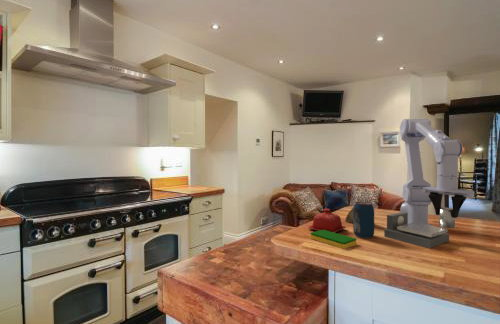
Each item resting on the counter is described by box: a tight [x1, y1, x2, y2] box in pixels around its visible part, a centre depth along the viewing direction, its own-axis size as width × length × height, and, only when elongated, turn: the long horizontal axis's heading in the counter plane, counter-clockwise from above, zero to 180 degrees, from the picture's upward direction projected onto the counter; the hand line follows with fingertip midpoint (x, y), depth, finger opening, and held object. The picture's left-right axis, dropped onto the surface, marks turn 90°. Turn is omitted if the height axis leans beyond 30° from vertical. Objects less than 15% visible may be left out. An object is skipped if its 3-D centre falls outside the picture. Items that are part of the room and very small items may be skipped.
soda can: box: [352, 201, 375, 239], centre depth 100 cm, size 7×7×12 cm
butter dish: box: [307, 208, 347, 233], centre depth 109 cm, size 12×12×8 cm
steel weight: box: [438, 206, 456, 229], centre depth 94 cm, size 4×4×6 cm
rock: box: [345, 200, 375, 225], centre depth 120 cm, size 11×9×10 cm
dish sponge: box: [310, 230, 357, 250], centre depth 95 cm, size 7×14×2 cm, turn 36°
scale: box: [383, 212, 450, 249], centre depth 97 cm, size 15×13×8 cm
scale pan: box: [397, 222, 449, 237], centre depth 95 cm, size 12×11×1 cm
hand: (446, 216), depth 94 cm, fingers closed on steel weight, 4 cm apart
